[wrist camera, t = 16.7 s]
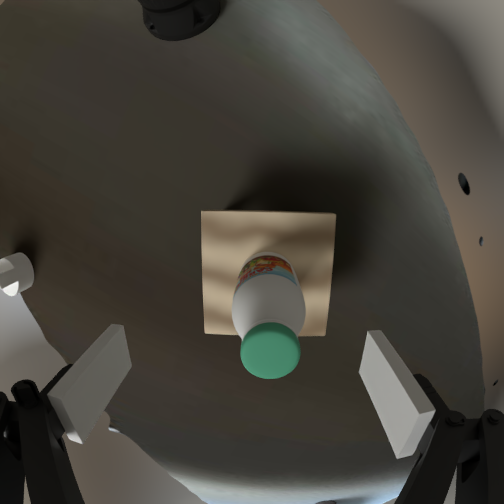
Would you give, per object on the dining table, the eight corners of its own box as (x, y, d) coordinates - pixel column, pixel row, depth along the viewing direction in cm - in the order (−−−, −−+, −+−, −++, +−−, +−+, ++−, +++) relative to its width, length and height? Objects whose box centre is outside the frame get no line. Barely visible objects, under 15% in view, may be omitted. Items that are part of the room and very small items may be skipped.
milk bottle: (306, 270, 40) (341, 343, 21) (274, 313, 42) (281, 408, 22) (259, 239, 40) (256, 291, 20) (228, 285, 41) (201, 366, 22)
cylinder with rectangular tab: (27, 248, 54) (-7, 261, 42) (38, 285, 56) (6, 302, 44) (7, 256, 55) (-25, 268, 43) (18, 290, 56) (-12, 306, 45)
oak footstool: (215, 205, 51) (201, 211, 39) (319, 207, 50) (336, 214, 39) (216, 303, 55) (204, 333, 43) (312, 305, 54) (325, 335, 43)
